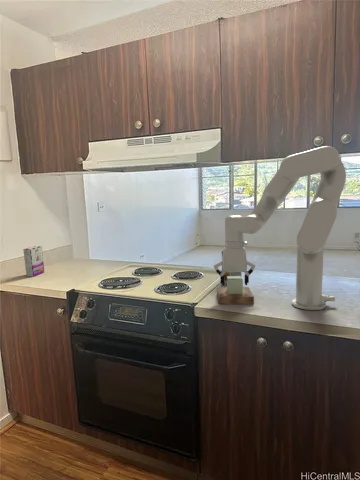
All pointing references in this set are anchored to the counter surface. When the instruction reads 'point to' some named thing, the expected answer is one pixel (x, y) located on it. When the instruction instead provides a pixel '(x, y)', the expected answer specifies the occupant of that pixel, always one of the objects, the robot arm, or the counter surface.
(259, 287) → the counter surface
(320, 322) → the counter surface
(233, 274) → the coffee box
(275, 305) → the counter surface
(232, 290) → the sage block
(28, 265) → the candy bar box
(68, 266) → the counter surface
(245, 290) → the walnut base
